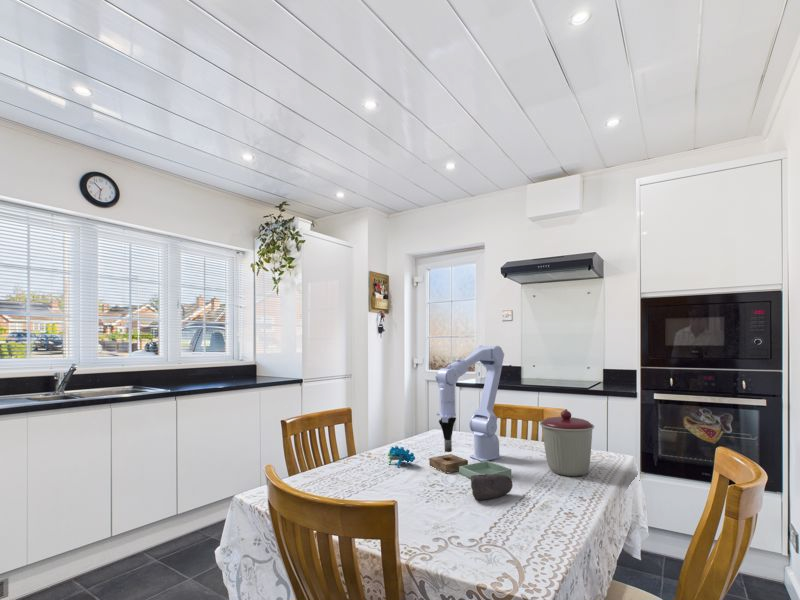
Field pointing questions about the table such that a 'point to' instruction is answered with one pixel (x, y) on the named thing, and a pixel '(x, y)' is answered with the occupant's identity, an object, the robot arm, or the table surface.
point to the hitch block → (447, 462)
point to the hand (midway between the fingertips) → (448, 438)
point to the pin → (448, 445)
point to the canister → (567, 444)
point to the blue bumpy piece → (400, 455)
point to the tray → (484, 469)
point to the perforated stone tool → (490, 486)
